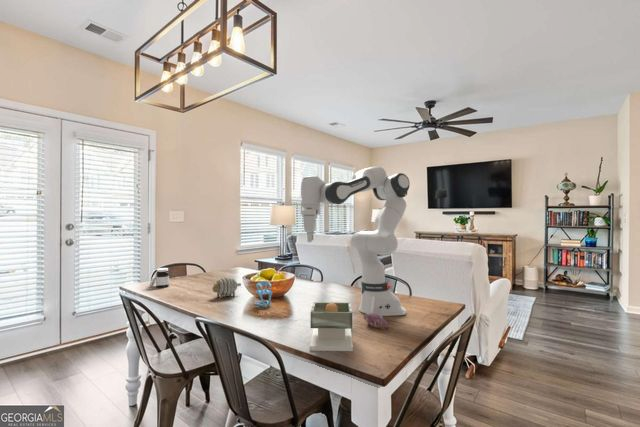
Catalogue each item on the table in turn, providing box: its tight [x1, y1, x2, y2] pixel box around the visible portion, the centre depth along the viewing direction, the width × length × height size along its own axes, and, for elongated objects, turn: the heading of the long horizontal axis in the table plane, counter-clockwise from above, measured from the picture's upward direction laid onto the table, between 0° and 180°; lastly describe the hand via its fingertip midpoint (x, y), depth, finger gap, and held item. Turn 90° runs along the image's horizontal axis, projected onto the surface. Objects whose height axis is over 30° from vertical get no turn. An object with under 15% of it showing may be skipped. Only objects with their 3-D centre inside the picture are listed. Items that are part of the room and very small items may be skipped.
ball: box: [325, 303, 338, 312], centre depth 128 cm, size 5×5×5 cm
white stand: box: [309, 328, 354, 352], centre depth 131 cm, size 32×15×8 cm, turn 177°
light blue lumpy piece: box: [253, 280, 273, 308], centre depth 173 cm, size 8×8×12 cm
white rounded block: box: [149, 267, 170, 289], centre depth 216 cm, size 12×11×12 cm
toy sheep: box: [212, 276, 242, 299], centre depth 190 cm, size 11×17×11 cm, turn 133°
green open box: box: [310, 301, 353, 330], centre depth 130 cm, size 30×15×6 cm, turn 177°
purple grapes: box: [363, 313, 390, 329], centre depth 139 cm, size 10×5×7 cm, turn 47°
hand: (310, 241), depth 151 cm, fingers open, 8 cm apart
